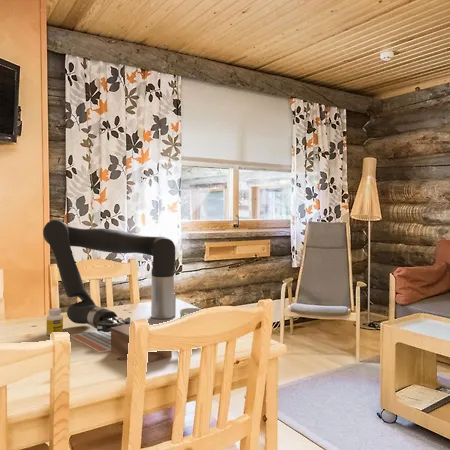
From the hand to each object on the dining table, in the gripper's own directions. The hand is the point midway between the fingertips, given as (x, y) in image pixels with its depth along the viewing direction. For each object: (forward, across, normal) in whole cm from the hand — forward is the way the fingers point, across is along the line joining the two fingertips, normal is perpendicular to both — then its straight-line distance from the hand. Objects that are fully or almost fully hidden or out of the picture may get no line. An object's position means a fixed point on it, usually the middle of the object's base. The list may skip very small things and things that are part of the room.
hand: (127, 329), depth 145 cm
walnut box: (+8, 0, +6) cm, 10 cm away
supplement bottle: (-27, -13, +6) cm, 31 cm away
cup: (+6, +22, +6) cm, 24 cm away
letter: (-13, -1, +6) cm, 15 cm away
